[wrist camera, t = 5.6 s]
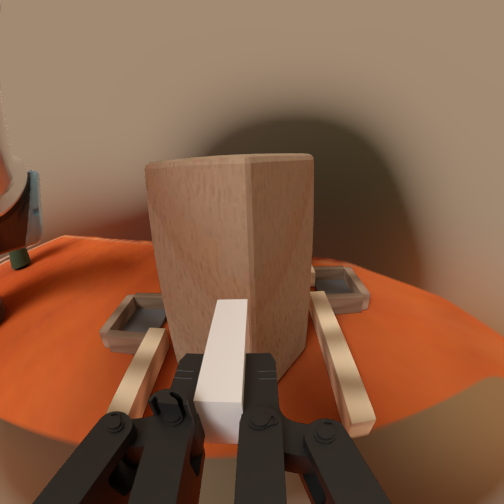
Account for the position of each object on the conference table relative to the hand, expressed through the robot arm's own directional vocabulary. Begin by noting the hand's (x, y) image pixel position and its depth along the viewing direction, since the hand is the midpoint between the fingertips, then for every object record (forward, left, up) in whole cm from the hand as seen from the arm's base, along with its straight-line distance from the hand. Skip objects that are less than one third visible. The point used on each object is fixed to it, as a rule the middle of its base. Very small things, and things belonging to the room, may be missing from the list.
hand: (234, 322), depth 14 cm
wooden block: (-8, +6, -12) cm, 16 cm away
